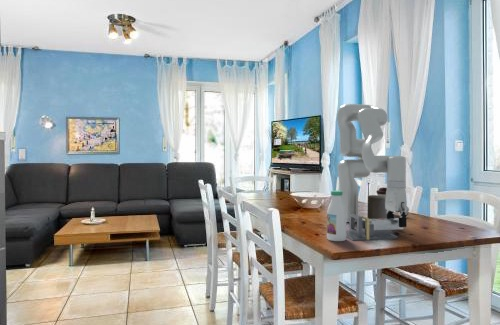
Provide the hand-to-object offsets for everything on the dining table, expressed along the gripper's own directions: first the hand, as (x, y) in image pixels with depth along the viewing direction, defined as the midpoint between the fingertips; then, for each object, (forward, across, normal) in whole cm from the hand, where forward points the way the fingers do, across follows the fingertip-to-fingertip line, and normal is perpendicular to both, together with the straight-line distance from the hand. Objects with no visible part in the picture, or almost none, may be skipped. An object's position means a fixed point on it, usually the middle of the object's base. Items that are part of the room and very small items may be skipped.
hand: (396, 224), depth 158 cm
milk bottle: (+5, +3, -28) cm, 28 cm away
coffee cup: (+4, -50, +21) cm, 54 cm away
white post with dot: (+2, 0, -5) cm, 5 cm away
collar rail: (+5, 0, -12) cm, 13 cm away
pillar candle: (+4, -26, +4) cm, 26 cm away
